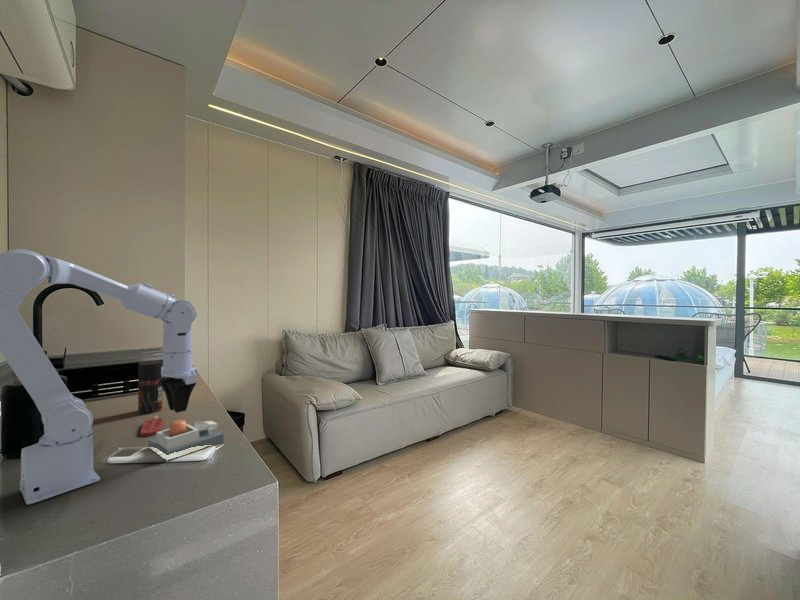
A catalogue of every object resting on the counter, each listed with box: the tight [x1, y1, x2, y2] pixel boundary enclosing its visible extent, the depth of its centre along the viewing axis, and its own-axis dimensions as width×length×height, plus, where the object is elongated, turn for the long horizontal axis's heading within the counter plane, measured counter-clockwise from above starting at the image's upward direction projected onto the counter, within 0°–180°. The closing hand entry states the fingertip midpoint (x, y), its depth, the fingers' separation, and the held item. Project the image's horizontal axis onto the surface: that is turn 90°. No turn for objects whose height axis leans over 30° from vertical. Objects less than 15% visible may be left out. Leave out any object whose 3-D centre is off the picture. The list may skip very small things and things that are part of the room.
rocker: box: [194, 420, 219, 430], centre depth 82 cm, size 4×4×1 cm
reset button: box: [169, 419, 187, 437], centre depth 76 cm, size 3×3×3 cm
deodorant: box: [137, 360, 163, 415], centre depth 102 cm, size 6×6×15 cm
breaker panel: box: [147, 423, 224, 455], centre depth 79 cm, size 12×11×4 cm
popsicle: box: [140, 414, 165, 438], centre depth 90 cm, size 4×2×15 cm
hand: (178, 410), depth 76 cm, fingers open, 2 cm apart
